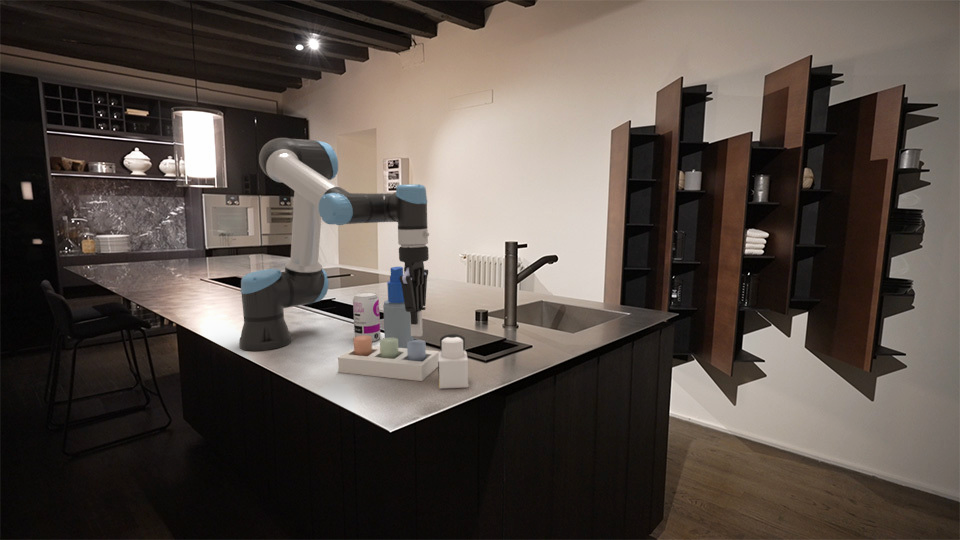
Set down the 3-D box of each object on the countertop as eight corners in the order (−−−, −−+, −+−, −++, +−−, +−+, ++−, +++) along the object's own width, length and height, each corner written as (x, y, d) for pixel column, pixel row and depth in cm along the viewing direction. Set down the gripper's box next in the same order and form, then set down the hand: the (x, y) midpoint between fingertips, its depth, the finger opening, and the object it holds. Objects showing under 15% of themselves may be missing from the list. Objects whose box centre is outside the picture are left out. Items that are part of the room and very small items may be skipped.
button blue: (404, 362, 126) (404, 344, 125) (412, 357, 131) (411, 339, 130) (421, 364, 125) (421, 345, 124) (428, 358, 129) (428, 340, 128)
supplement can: (383, 336, 162) (381, 292, 159) (375, 343, 153) (373, 297, 151) (359, 335, 162) (357, 292, 160) (351, 342, 154) (348, 296, 152)
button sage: (377, 360, 128) (376, 341, 128) (385, 354, 133) (385, 336, 132) (393, 361, 127) (392, 343, 126) (401, 355, 131) (401, 338, 131)
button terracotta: (350, 357, 131) (349, 339, 130) (360, 352, 135) (359, 334, 134) (366, 359, 129) (365, 341, 128) (375, 353, 134) (374, 336, 133)
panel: (338, 372, 128) (337, 357, 128) (362, 357, 139) (361, 344, 139) (421, 381, 121) (421, 365, 121) (439, 365, 133) (439, 351, 132)
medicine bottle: (438, 378, 123) (437, 332, 121) (466, 377, 124) (466, 331, 122) (438, 389, 116) (437, 340, 114) (468, 387, 117) (467, 339, 115)
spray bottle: (394, 342, 155) (391, 264, 151) (419, 344, 152) (416, 265, 148) (379, 350, 146) (376, 268, 143) (405, 353, 143) (403, 270, 140)
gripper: (416, 248, 116) (419, 343, 119) (436, 243, 128) (439, 329, 131) (388, 248, 118) (392, 341, 121) (410, 243, 130) (414, 328, 134)
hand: (416, 335), depth 126 cm, fingers closed
